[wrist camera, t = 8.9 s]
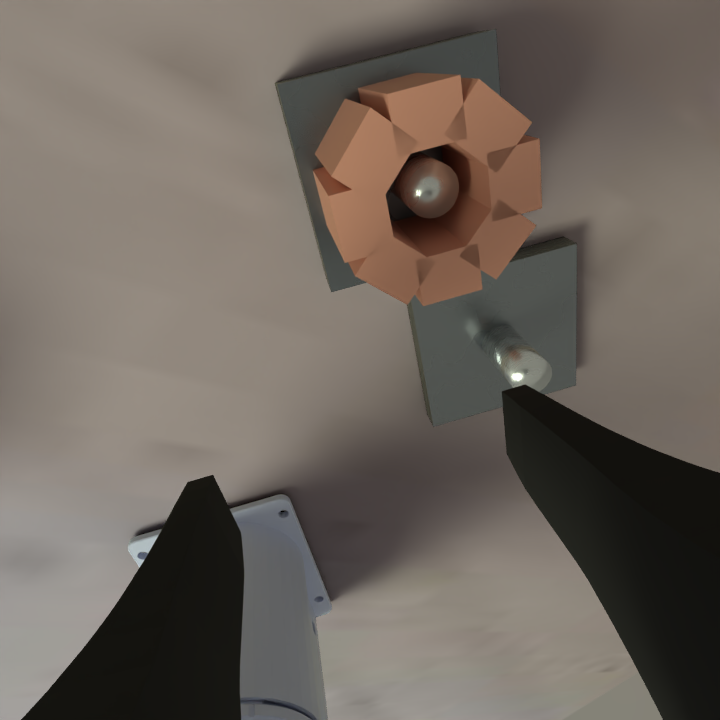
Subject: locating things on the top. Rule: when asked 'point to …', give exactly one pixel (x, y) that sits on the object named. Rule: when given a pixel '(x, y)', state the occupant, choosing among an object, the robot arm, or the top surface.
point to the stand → (500, 334)
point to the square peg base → (330, 87)
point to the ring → (460, 152)
